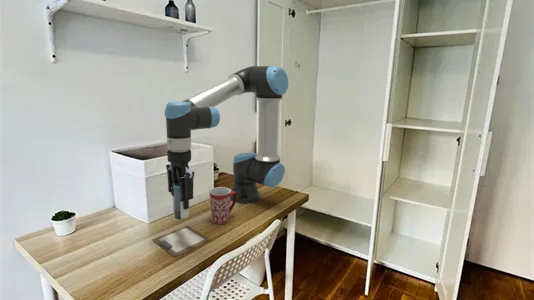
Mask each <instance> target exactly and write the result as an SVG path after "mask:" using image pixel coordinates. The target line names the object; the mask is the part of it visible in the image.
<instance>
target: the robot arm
mask: <svg viewBox="0 0 534 300" xmlns="http://www.w3.org/2000/svg"><path fill="white" fill-rule="evenodd" d="M288 88H289V77H288V74H287V72H286V71H285V69H284V68H283V67H280V66H274V65H268V66H267V65H263V66H262V65H251V66H248V67H246V68H242V69H240V70H237V71H236V72H234V73H231V74H229V75H228V77H227V79H225V80H223V81H221V82H219V83H217V84H215V85H213V86H211V87H209V88H207V89H205V90H203V91H200V92H199V93H197V94H195V95H193V96H191V97H189V98H187V99H185V100H182V101H168V102H167V103H166V106H165V109H164V116H165V125H166V145H167V146H166V148H167V155H166V156H167V161H168V164H166V165H165V168H166V171H167V172H166V174H167V187H168V189H167V190H168V193H170V194H171V196H172V212H173V213H172V214H173V215H175V209H174V183H178V182H180V190H181V197H182V199H181V200H180V209H181V219H180V220H184V219H186V218H188V217H190V216H189V215H190V214H189V213H190V200H193V199H194V177H195V171H191V170H190V167H189V162H191V160H192V150H191V148H192V131H196V130H203V129H211V128H215V127H217V126H218V125H219V124H220V122H221V115H220V112H219V110H218V109H217V106H218V105H220V104H222V103H224V102H225V101H227V100H230V99H231V98H233V97H234V96H241V95H243V94H247V93H253V94H254V93H255V98H256V99H257V101H258V145H257V146H258V152H257V153H256V152H242V153H237V154H235V155H234V157H233V162H232V164H233V165H232V166H233V169H232V171H233V180H232V181H233V182H232V185H231V188H230V190H231V191H234V192H236V193H237V201H236V203H238V204H251V203H255V202H258V201H259V200H260V191H259V187H258V185H257V184H260V185H263V186H265V187H270V188H275V187H278V185H280V183H281V182H282V180H283V178H284V176H285V171H286V170H285V169H286V168H285V165H283V164H282V162H281V158H280V156H279V154H278V135H279V134H278V132H279V130H278V129H279V103H280V101H281V100H282V99H283V95H285V94H286V92H287V90H288ZM233 200H234V194H232V195H231V197H230V201H232V202H233ZM183 218H184V219H183Z"/></svg>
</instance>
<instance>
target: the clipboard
mask: <svg viewBox="0 0 534 300" xmlns="http://www.w3.org/2000/svg"><path fill="white" fill-rule="evenodd" d="M152 241H153V242H154V243H155V244H157V245H158V246H159V247H160V248H162V250H164V251H165V252H167V253H168V254H170V255H171V256H172V257H173V258H177V257H178V256H181V255H183V254H185V253H188V252H189V251H192V250H194V249H196V248H197V247H200V246H202V245H204V244H207V243H209V242H211V239H210V238H209V237H207V236H205V235H204V234H202V233H200V232H199V231H198V230H196V229H194V228H193V227H191V226H189V225H186V226H183V227H181V228H178V229H176V230H173V231H171V232H167V233H165V234H163V235H159V236H157V237H154V238H152Z"/></svg>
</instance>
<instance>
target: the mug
mask: <svg viewBox="0 0 534 300" xmlns="http://www.w3.org/2000/svg"><path fill="white" fill-rule="evenodd" d="M208 193H209V200H210V212H211V213H210V214H211V222H212V223H213V224H215V225H223V224H224V225H225V224H227V223H228V222H229V221H230V213H231V212H232V210H233V209H234V207H235V205H236V203H237V202H236V201H237V193H236V192H234V191H231V188H228V187H226V186H225V187H224V186H216V187H212V188H211V189H209V191H208ZM232 194H234V200H233V201H232V203H231V199H230V197H231V195H232Z"/></svg>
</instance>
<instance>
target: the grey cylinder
mask: <svg viewBox="0 0 534 300" xmlns="http://www.w3.org/2000/svg"><path fill="white" fill-rule="evenodd" d="M181 199H182V197H181V190H180V182H178V183H174V209H175V214H174V219H176V220H184V219H185V218H183V219H181V209H180V200H181Z"/></svg>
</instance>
